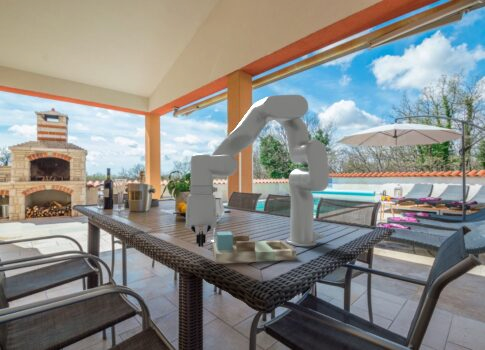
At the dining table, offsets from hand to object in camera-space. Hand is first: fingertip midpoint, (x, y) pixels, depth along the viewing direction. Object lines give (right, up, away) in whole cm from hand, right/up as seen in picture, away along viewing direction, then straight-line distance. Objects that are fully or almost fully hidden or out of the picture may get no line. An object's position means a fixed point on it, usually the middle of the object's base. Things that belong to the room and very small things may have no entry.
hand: (200, 245), depth 82 cm
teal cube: (+8, -1, +2) cm, 8 cm away
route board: (+18, -5, +4) cm, 18 cm away
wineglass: (+2, -5, +21) cm, 22 cm away
